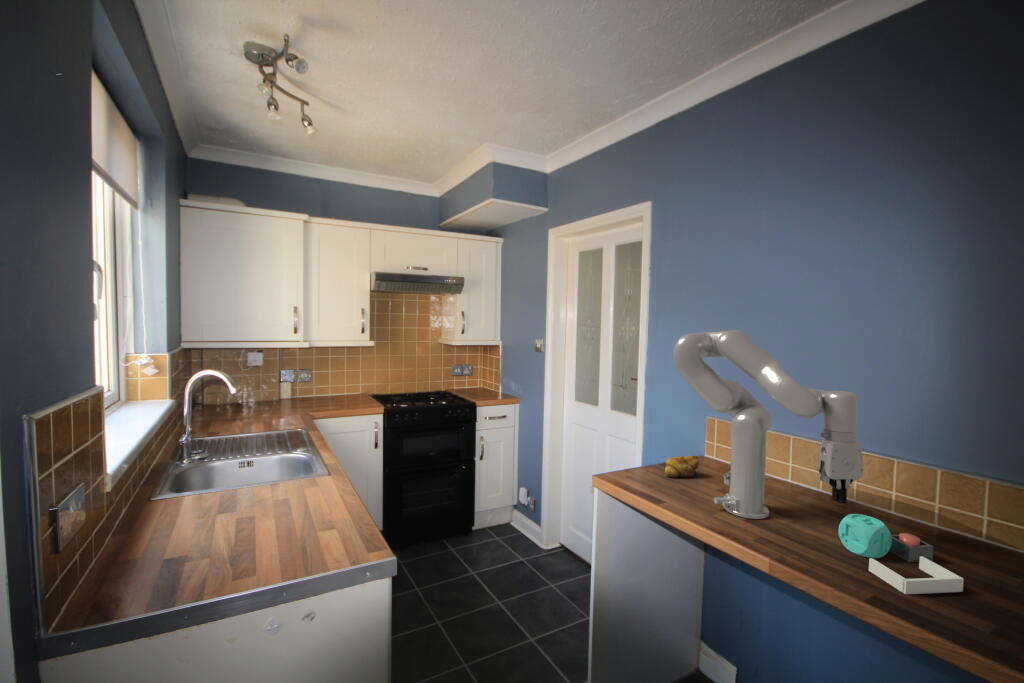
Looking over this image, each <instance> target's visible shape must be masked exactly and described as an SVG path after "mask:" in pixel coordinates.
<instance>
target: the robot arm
mask: <svg viewBox="0 0 1024 683" xmlns="http://www.w3.org/2000/svg"><path fill="white" fill-rule="evenodd" d="M672 352H673V354H672V358H673V364H674V366H675V368H676V370H677V372H678V373H679V374H680V376H681V377H683V379H684V380H685V381H686V382H687V383H688V384H689V385H690V386H691V387H692V388H693V389H694V391H696V392H697V393H698V394H699V395H700V396H701V397H702V399H704V401H705V402H707V404H708V405H709V406H710V407H711V408H712V409H713V410H715V411H716V412H718V413H722V414H724V413H728V414H729V415H730V416H731V417H732V419H731V423H730V426H729V427H730V431H729V433H730V470H729V472H730V486H729V492H726V493H725V495H724V496H723V497H721V496H720V497H719V496H715V497H713V502H714V504H716V505H720V504H721V505H722V506H723V508H724V509H725V511H727V512H728V513H729V514H732V515H734V516H738V517H739V518H745V519H752V520H762V519H763V520H764V519H766V518H768V517H769V516H770V510H769V508H768V507H767V506H765V505H764V504H765V503H764V502H765V481H766V462H767V460H766V458H767V457H766V456H767V441H766V440H767V439H766V438H767V432H769V430H770V429H771V426H772V422H773V421H772V415H771V414H770V412H769V411H768V409H767V408H766V407H765V406H764V405H763V404H762V403H761V402H759V400H757V399H756V397H754V396H753V394H751V393H750V392H749V391H748V390H747V389H746V388H745V387H744V386H743V385H742V384H740V383H738V382H737V381H735V380H731V379H724V378H722V376H721V375H720V374H719V373H717V372H716V371H715V369H713V368H712V366H710V365H709V364H707V363H706V362H705V361H704V359H703V358H716V357H719V358H720V357H724V358H726V359H727V360H728V361H729V362H730V363H732V364H734V365H735V366H736V367H737V368H738V369H740V370H741V371H742V372H744V373H745V374H746V375H747V376H749V377H750V378H751V379H753V380H754V381H755V383H757V385H758V386H759V387H761V388H762V389H763V390H764V391H765V392H766V393H767V395H769V396H770V397H771V398H773V399H774V400H775V401H776V402H777V403H779V404H780V405H781V406H782V407H784V408H785V409H786V410H787V411H789V412H790V413H792V414H793V415H795V416H796V417H799V418H801V419H813V418H815V417H817V416H818V415H819V414H822V415H823V432H821V433H820V436H821V437H822V438H823V439H822V440H821V443H820V447H819V451H818V459H817V460H818V463H817V469H818V473H819V474H820V476H819V480H820V481H822V482H823V483H828V484H829V486H830V487H831V499H832V501H834V502H836V503H838V504H839V505H841V504H847V502H848V501H847V500H848V499H847V497H848V495H847V494H848V493H847V492H848V489H849V488H850V485H851V484H852V483H853V482H857V481H859V480H860V479H861V478H863V476H864V457H863V450H862V446H861V443H860V441H858V396H857V394H855V393H854V392H853V391H852V392H851V391H845V390H826V389H825V390H824V389H821V388H820V389H819V388H814V387H804V386H803V385H801V384H800V383H799V382H797V381H796V380H795V379H793V378H792V377H791V376H790V375H789V374H788V373H787V372H786V371H785V370H784V369H783V368H782V366H781V364H780V363H779V361H778V360H777V359H776V358H775V357H774V356H773V355H771V354H770V353H768V352H766V350H764V349H763V348H761V347H760V346H758V344H756V343H754V342H753V341H752V340H751V338H750V335H748V334H747V333H746V332H745V331H743V330H739V329H731V330H724V331H723V330H722V331H721V330H720V331H706V332H704V331H702V332H691V333H686V334H684V335H682V336H681V337H679V338H678V340H677V341H676V342H675V345H674V347H673V350H672Z"/></svg>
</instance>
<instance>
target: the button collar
mask: <svg viewBox="0 0 1024 683" xmlns="http://www.w3.org/2000/svg"><path fill="white" fill-rule="evenodd" d="M899 534H900V533H898V534H891V537H892V543H891V547H890V549H889V551H888V552H890V553H892V554H893V555H895V556H897V557H899V558H900V559H902V560H904V561H905V562H907V563H919V561H920V556H923V557H925V558H926V559H928V560H930V561H932V562H934V561H933V560H934V559H933V558H934V546H933V545H932V544H930V543H927V542H926V541H923V540H922V539H920V545H918V546H909V545H907V544H905V543H903V542H902V541H900V540H899Z"/></svg>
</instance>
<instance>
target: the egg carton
mask: <svg viewBox="0 0 1024 683" xmlns="http://www.w3.org/2000/svg"><path fill="white" fill-rule="evenodd" d="M722 474H723V475H722V476H723V479H724V480H723V483H724V484H725V485H726V486H729V487H730V470H729V471H727V472H726V473H722Z"/></svg>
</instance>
